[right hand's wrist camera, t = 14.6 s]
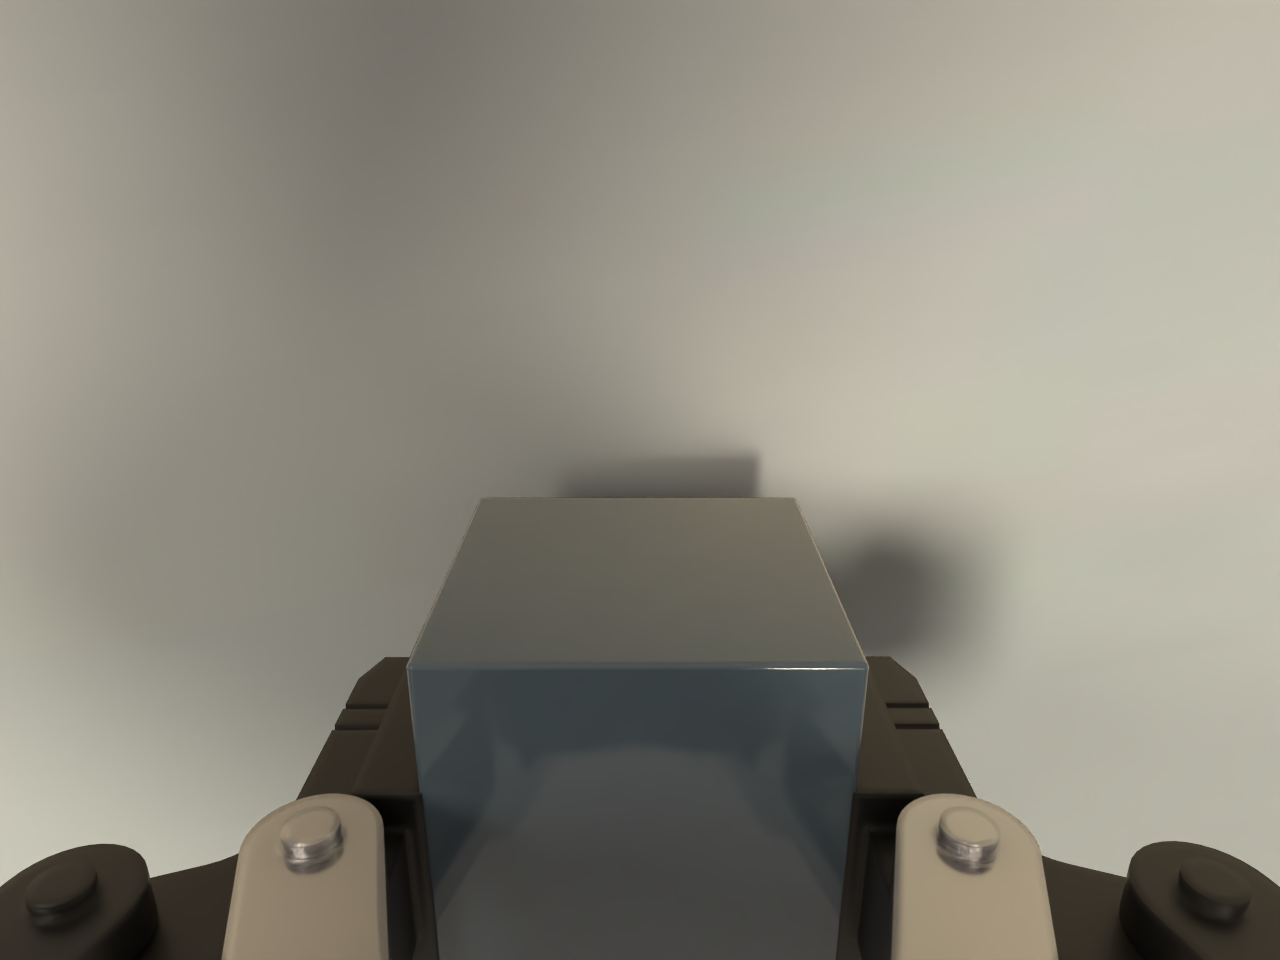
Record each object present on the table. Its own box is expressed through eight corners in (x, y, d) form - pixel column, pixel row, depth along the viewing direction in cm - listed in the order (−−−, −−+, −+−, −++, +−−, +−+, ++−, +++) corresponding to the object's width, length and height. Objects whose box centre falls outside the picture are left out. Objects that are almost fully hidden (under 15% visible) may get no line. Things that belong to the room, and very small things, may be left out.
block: (499, 807, 14) (446, 1066, 10) (479, 495, 12) (403, 664, 8) (776, 807, 14) (829, 1065, 10) (797, 495, 12) (871, 664, 8)
